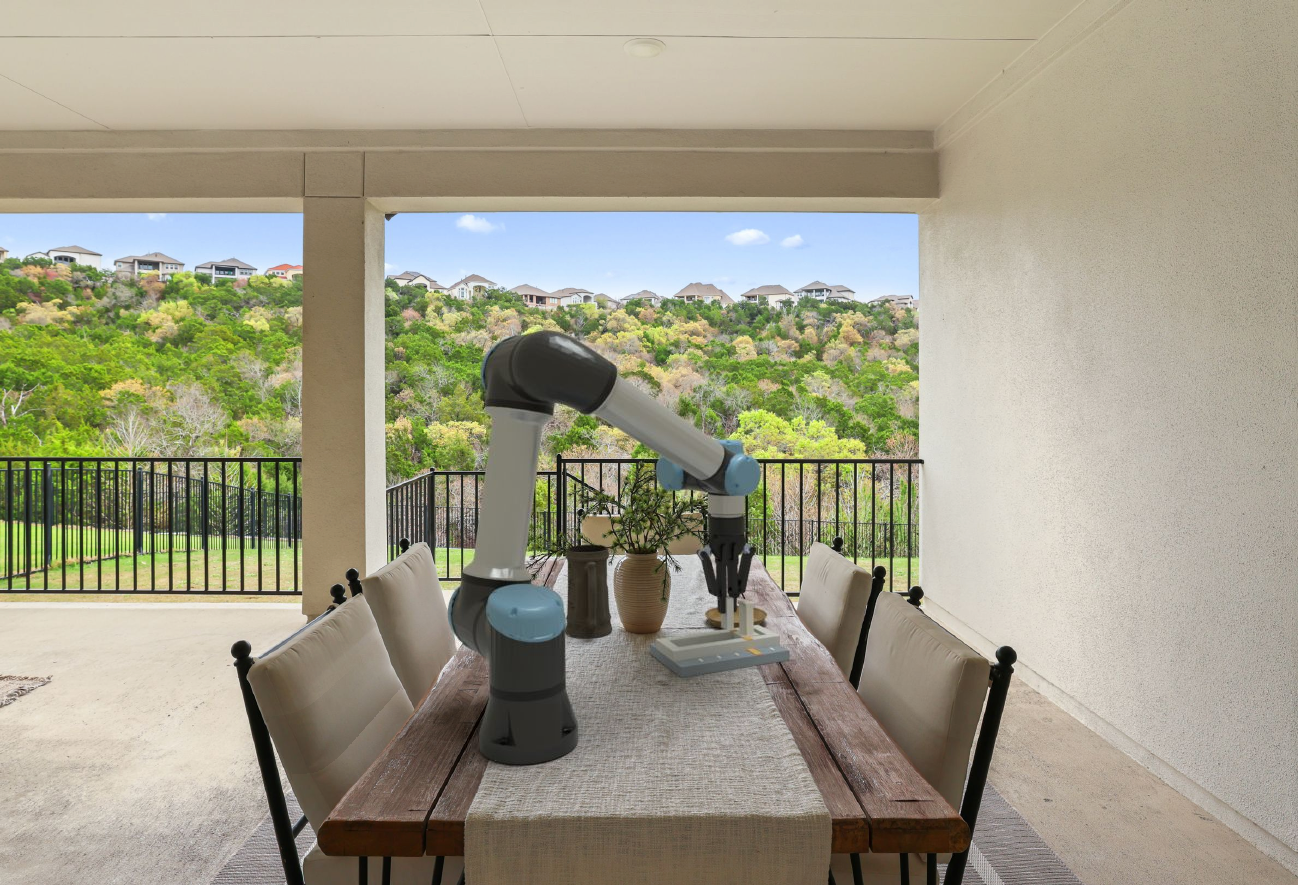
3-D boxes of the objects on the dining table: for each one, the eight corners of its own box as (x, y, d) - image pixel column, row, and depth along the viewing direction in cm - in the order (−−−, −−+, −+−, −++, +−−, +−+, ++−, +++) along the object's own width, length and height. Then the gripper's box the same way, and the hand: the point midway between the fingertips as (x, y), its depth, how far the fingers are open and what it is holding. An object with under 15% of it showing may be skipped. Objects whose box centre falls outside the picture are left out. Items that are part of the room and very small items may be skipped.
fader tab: (759, 643, 157) (759, 602, 157) (742, 645, 155) (742, 604, 155) (750, 637, 161) (749, 598, 160) (733, 640, 159) (733, 600, 159)
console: (789, 659, 153) (789, 639, 153) (681, 677, 144) (681, 655, 144) (750, 638, 168) (749, 619, 167) (649, 653, 159) (649, 633, 158)
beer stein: (559, 627, 179) (559, 544, 177) (603, 622, 182) (603, 540, 180) (577, 650, 164) (576, 560, 162) (623, 644, 168) (623, 556, 166)
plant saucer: (778, 629, 175) (778, 618, 175) (719, 636, 171) (719, 624, 170) (750, 613, 189) (750, 603, 189) (695, 619, 185) (695, 608, 184)
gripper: (745, 510, 161) (746, 620, 162) (689, 514, 156) (691, 627, 157) (763, 514, 154) (764, 629, 155) (705, 519, 149) (707, 637, 150)
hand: (727, 628), depth 156 cm, fingers closed
